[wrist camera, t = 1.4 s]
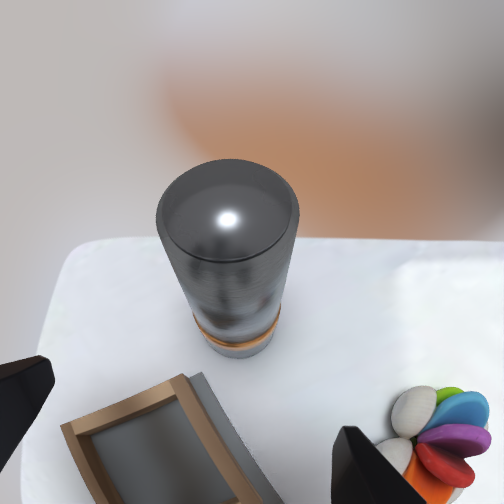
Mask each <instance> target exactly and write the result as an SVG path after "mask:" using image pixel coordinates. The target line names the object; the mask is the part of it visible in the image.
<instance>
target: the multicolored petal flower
mask: <svg viewBox="0 0 504 504" xmlns="http://www.w3.org/2000/svg"><path fill="white" fill-rule="evenodd" d="M488 417H489V405H488V402H487V400H486V398H485V397H484V396H483V395H482V394H480V393H479V392H473V391H470V392H464V391H462V390H461V389H459V388H456V387H446V388H442V389H440V390H438V391H435V389H433V388H432V387H429V386H417V387H414V388H411V389H409V390H407V391H406V392H404V393H403V394H402V395H401V396H400V397H399V398H398V400H397V401H396V403H395V405H394V407H393V410H392V415H391V421H392V426H393V428H394V430H395V432H396V433H397V434H398V435H399V436H400V438H392V439H388V440H385V441H383V442H381V443H380V444H378V445H377V446H376V448H377V449H378V450H379V451H380V452H381V453H382V454H383V455H384V457H385V458H386V459H387V460H388V461H389V462H390V463H391V464H392V465H393V466H394V467H395V468H396V470H397V471H398V472H399V473H400V474H401V475H402V476H403V477H404V478H405V479H406V480H407V481H408V482H409V483H410V484H411V486H412V487H413V488H414V489H415V490H416V491H417V492H418V493H419V494H420V495H421V496H422V497H423V498H424V499H425V500H426V501H427V504H451V503H452V502H454V501H455V500H456V499H457V498H458V497H459V496H460V495H461V493H462V492H463V490H464V488H466V487H468V486H470V485H471V484H472V483H473V481H474V479H475V473H474V471H473V470H472V468H471V467H470V466H469V465H468V464H467V463H466V462H465V460H464V458H467V457H472V456H476V455H480V454H482V453H484V452H485V451H486V450H487V449H488V448H489V446H490V444H491V435H490V433H489V432H488ZM412 437H414V438H416V439H417V442H418V443H417V445H416V446H415V448H413V446H412V442H411V441H410V440H409V439H410V438H412Z"/></svg>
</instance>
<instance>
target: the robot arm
mask: <svg viewBox="0 0 504 504" xmlns="http://www.w3.org/2000/svg"><path fill="white" fill-rule="evenodd" d="M54 384H55V377H54V373H53V369H52V365H51V362H50V360H49V359H48V358H45V357H43V356H41V355H37V356H34V357H30V358H26V359H22V360H18V361H14V362H10V363H6V364H2V365H0V472H1V471H2V469H3V468H4V466H5V464H6V463H7V461H8V460H9V458H10V457H11V455H12V453H13V452H14V450H15V449H16V447H17V446H18V444H19V443H20V441H21V440H22V438H23V437H24V435H25V434H26V432H27V431H28V429H29V428H30V426H31V425H32V423H33V422H34V420H35V419H36V417H37V415H38V413H39V412H40V410H41V408H42V406H43V404H44V402H45V401H46V399H47V397H48V395H49V393H50V392H51V390H52V388H53V386H54ZM331 504H427V501H426V500H425V499H424V498H423V497H422V496H421V495H420V494H419V493H418V492H417V491H416V490H415V489H414V488H413V487H412V486H411V484H410V483H409V482H408V481H407V480H406V479H405V478H404V477H403V476H402V475H401V474H400V473H399V472H398V471H397V470H396V468H395V467H394V466H393V465H392V464H391V463H390V462H389V461H388V460H387V459H386V458H385V457H384V455H383V454H382V453H381V452H380V451H379V450H378V449H377V448H376V447H375V446H374V445H373V443H372V442H371V441H370V440H369V439H368V438H367V437H366V436H365V435H364V433H363V432H362V431H361V430H360V429H359V428H358V427H357V426H343V427H342V428H341V429H340V431H339V434H338V436H337V438H336V440H335V442H334V445H333V450H332V479H331Z"/></svg>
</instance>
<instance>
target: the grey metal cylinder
mask: <svg viewBox="0 0 504 504" xmlns="http://www.w3.org/2000/svg"><path fill="white" fill-rule="evenodd" d="M299 216H300V214H299V204H298V200H297V197H296V195H295V193H294V191H293V189H292V188H291V187H290V185H289V184H288V183H287V182H286V181H285V180H284V179H283V178H282V177H281V176H280V175H278V174H277V173H276V172H274V171H273V170H271V169H269V168H267V167H265V166H262V165H260V164H257V163H254V162H250V161H246V160H239V159H222V160H215V161H210V162H206V163H203V164H201V165H198V166H196V167H194V168H192V169H190V170H188V171H187V172H185V173H184V174H182V175H181V176H179V177H178V178H177V179H176V180H174V181H173V182H172V183H171V184H170V186H169V187H168V188H167V189H166V191H165V192H164V194H163V195H162V197H161V199H160V201H159V204H158V207H157V213H156V226H157V231H158V234H159V236H160V239H161V241H162V244H163V246H164V249H165V251H166V253H167V256H168V258H169V260H170V263H171V265H172V267H173V269H174V272H175V274H176V276H177V278H178V281H179V283H180V285H181V287H182V289H183V292H184V294H185V296H186V298H187V300H188V302H189V305H190V307H191V309H192V312H193V316H194V319H195V321H196V323H197V325H198V327H199V329H200V331H201V332H202V334H203V335H204V336H205V338H206V340H207V341H208V343H209V345H210V346H211V347H212V348H213V349H214V350H215V351H217V352H218V353H220V354H222V355H224V356H226V357H230V358H237V359H238V358H247V357H250V356H253V355H255V354H257V353H259V352H260V351H261V350H263V349H264V348H265V347H266V346H267V344H268V343H269V341H270V340H271V337H272V335H273V331H274V329H275V327H276V325H277V321H278V318H279V314H280V309H281V299H282V294H283V290H284V286H285V282H286V277H287V273H288V268H289V264H290V260H291V255H292V251H293V246H294V242H295V237H296V232H297V227H298V223H299Z"/></svg>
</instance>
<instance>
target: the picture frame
mask: <svg viewBox="0 0 504 504" xmlns="http://www.w3.org/2000/svg"><path fill="white" fill-rule="evenodd" d="M60 427H61V430H62V432H63V435H64V437H65V440H66V442H67V445H68V447H69V449H70V452H71V454H72V456H73V459H74V461H75V463H76V465H77V467H78V469H79V472H80V474H81V476H82V478H83V480H84V482H85V484H86V486H87V488H88V489H89V491H90V493H91V495H92V497H93V499H94V501H95V502H96V504H284V503H283V501H282V500H281V498H280V497H279V496H278V494H277V493H276V491H275V490H274V489H273V487H272V486H271V484H270V483H269V482H268V480H267V479H266V477H265V476H264V474H263V473H262V471H261V470H260V468H259V467H258V465H257V464H256V462H255V461H254V459H253V458H252V456H251V455H250V453H249V452H248V450H247V448H246V447H245V445H244V444H243V442H242V441H241V439H240V437H239V436H238V434H237V432H236V431H235V429H234V428H233V426H232V424H231V423H230V421H229V419H228V418H227V416H226V414H225V412H224V411H223V409H222V407H221V406H220V404H219V402H218V400H217V399H216V397H215V395H214V393H213V392H212V390H211V388H210V386H209V384H208V383H207V381H206V379H205V377H204V375H203V373H202V372H200V373H198V374H196V375H194V376H192V377H190V378H188V377H186V376H185V375H184V374H180V375H178V376H176V377H174V378H171V379H169V380H167V381H165V382H163V383H161V384H159V385H156V386H154V387H152V388H150V389H148V390H145V391H143V392H141V393H139V394H136V395H134V396H132V397H129V398H127V399H125V400H123V401H120V402H118V403H115V404H113V405H111V406H108V407H106V408H103V409H101V410H98V411H96V412H94V413H91V414H88V415H86V416H83V417H81V418H78V419H76V420H73V421H70V422H68V423H65V424H62V425H60Z"/></svg>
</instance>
